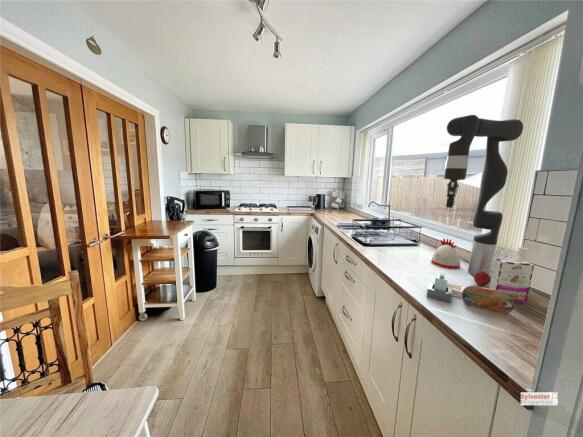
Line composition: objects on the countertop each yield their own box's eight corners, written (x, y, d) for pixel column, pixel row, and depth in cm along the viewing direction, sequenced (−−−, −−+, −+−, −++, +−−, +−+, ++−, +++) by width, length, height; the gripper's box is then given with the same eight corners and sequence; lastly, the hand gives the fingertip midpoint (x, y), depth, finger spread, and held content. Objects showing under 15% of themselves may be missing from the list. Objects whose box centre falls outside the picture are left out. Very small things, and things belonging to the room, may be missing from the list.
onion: (491, 290, 105) (494, 273, 103) (476, 288, 106) (480, 271, 104) (483, 284, 110) (486, 268, 109) (469, 282, 111) (472, 266, 110)
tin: (460, 305, 90) (464, 285, 89) (459, 301, 93) (463, 281, 92) (512, 317, 83) (517, 295, 82) (509, 313, 86) (514, 292, 85)
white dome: (438, 258, 145) (441, 235, 143) (463, 266, 134) (468, 240, 132) (426, 262, 137) (430, 237, 135) (453, 270, 126) (457, 243, 124)
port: (428, 290, 101) (430, 281, 101) (450, 296, 97) (452, 286, 96) (426, 297, 95) (427, 287, 94) (449, 304, 90) (451, 294, 90)
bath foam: (526, 292, 104) (536, 248, 100) (523, 296, 99) (534, 251, 96) (505, 286, 109) (514, 244, 106) (502, 290, 105) (511, 247, 101)
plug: (445, 295, 96) (448, 274, 95) (444, 299, 93) (448, 277, 91) (433, 292, 99) (436, 272, 97) (432, 296, 95) (436, 275, 94)
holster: (443, 287, 105) (444, 281, 104) (463, 292, 101) (464, 286, 100) (442, 293, 99) (443, 286, 99) (463, 299, 95) (464, 292, 95)
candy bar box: (517, 298, 98) (526, 260, 95) (526, 304, 93) (535, 264, 91) (486, 294, 101) (494, 257, 98) (494, 299, 96) (501, 261, 93)
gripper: (467, 166, 89) (460, 209, 92) (467, 168, 100) (460, 206, 103) (443, 166, 93) (437, 207, 96) (446, 168, 105) (440, 204, 108)
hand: (449, 206), depth 100 cm, fingers open, 8 cm apart
